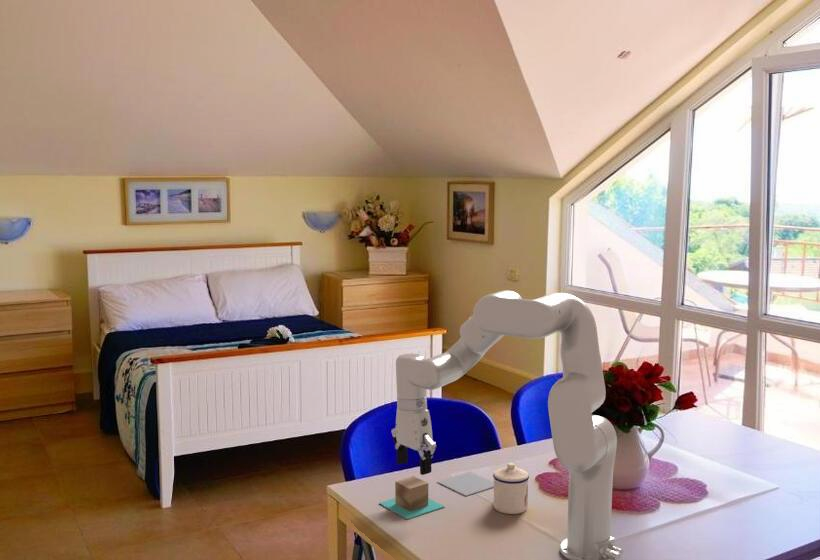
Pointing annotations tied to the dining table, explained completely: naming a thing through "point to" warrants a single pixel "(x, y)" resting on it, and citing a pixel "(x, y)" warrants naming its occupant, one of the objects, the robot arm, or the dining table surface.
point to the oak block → (411, 493)
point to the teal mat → (411, 514)
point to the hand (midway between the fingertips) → (414, 468)
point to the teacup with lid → (510, 489)
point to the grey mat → (467, 483)
